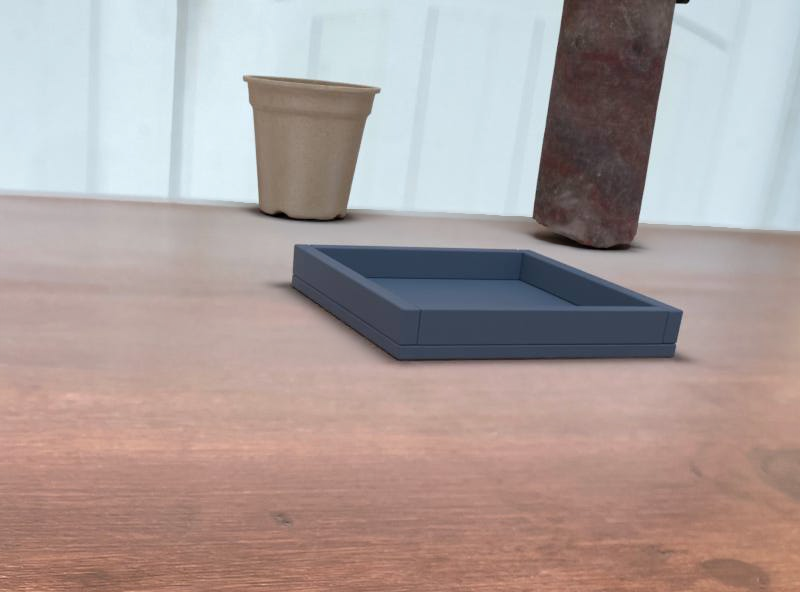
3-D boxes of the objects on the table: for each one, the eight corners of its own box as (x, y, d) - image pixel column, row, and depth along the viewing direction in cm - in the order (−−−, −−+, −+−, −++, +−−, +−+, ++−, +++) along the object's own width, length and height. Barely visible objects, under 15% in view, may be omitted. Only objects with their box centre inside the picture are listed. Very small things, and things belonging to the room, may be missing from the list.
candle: (507, 234, 83) (559, -101, 74) (552, 227, 88) (604, -85, 79) (610, 253, 79) (677, -97, 70) (649, 244, 85) (716, -81, 76)
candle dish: (524, 288, 66) (529, 249, 65) (674, 357, 54) (684, 310, 53) (291, 285, 61) (293, 243, 60) (397, 360, 49) (403, 308, 48)
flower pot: (313, 202, 91) (322, 77, 87) (395, 223, 84) (409, 89, 80) (211, 205, 85) (215, 72, 81) (290, 227, 79) (299, 84, 75)
